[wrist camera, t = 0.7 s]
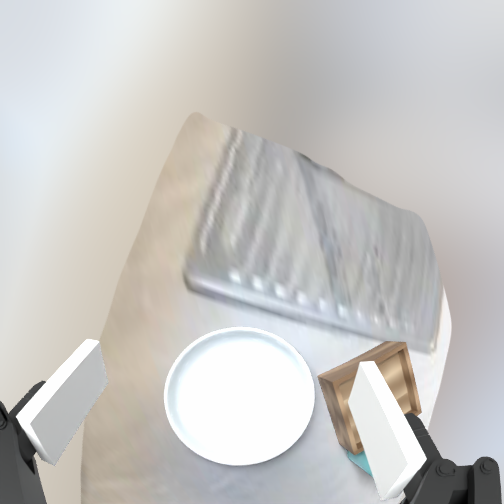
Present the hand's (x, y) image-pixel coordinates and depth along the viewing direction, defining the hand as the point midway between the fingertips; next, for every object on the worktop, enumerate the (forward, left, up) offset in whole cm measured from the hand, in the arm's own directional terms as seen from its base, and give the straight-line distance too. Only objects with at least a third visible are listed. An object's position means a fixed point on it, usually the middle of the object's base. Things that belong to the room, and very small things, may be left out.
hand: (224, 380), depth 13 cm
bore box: (-19, -22, -32) cm, 43 cm away
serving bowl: (-9, -1, -32) cm, 33 cm away
